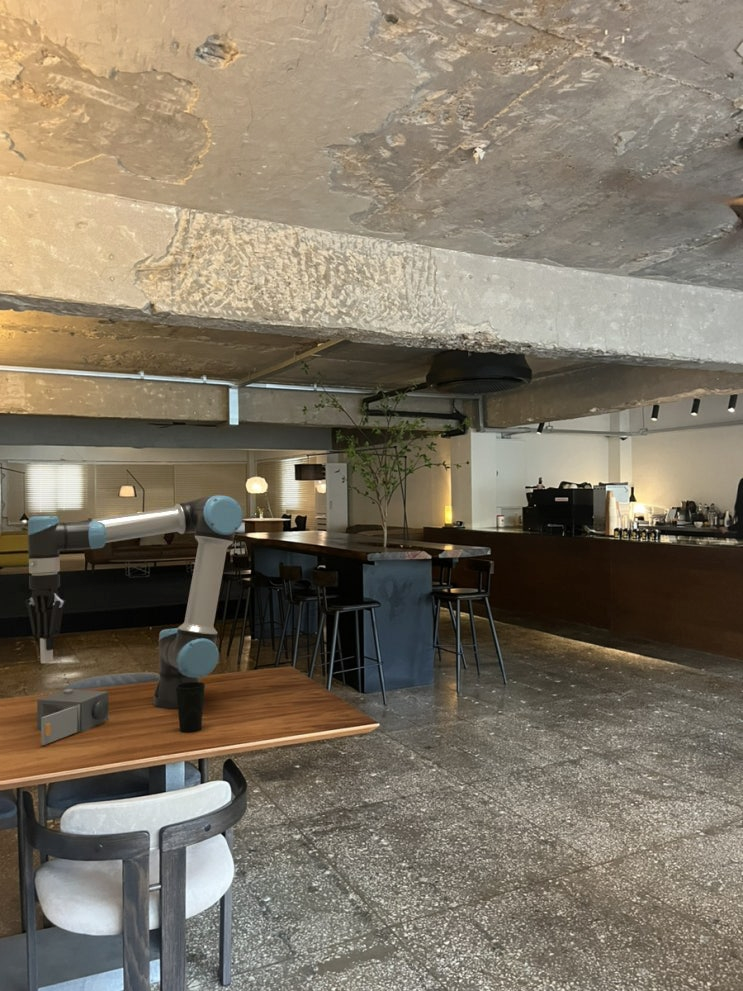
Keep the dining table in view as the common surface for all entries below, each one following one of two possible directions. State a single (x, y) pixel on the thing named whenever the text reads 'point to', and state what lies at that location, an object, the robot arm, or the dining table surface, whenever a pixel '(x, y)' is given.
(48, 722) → the side door
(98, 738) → the dining table surface
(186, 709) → the cup
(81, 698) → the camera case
